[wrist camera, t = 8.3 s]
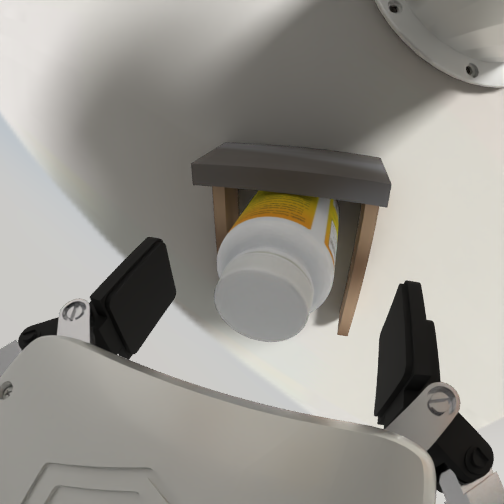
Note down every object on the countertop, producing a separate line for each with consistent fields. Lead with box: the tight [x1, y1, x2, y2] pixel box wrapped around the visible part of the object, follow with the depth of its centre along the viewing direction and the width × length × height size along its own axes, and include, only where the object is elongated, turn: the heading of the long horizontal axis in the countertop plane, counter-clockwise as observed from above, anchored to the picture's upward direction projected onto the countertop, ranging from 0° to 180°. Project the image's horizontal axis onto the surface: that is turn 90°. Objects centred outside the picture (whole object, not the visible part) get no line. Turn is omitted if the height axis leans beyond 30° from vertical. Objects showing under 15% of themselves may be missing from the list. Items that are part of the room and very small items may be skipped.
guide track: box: [191, 143, 391, 336], centre depth 20 cm, size 13×10×5 cm
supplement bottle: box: [214, 190, 339, 342], centre depth 16 cm, size 6×6×10 cm
